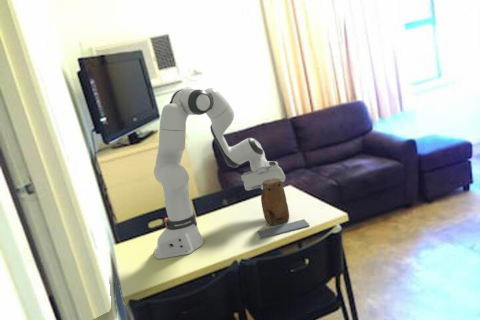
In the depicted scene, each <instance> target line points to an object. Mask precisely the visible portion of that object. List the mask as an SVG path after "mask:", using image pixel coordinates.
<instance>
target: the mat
mask: <svg viewBox="0 0 480 320" xmlns="http://www.w3.org/2000/svg"><path fill="white" fill-rule="evenodd" d="M308 227H310V224H309V223H308V222H307V221H306V220H305V219H304V218H303V219H300V220H296V221H292V222H287V223H284V224H280V225H276V226H272V227H268V228H265V229H260V230H257V235H258V236H259V238H260V239H261V240H263V239H266V238H269V237H274V236H277V235H281V234H285V233H289V232H294V231H297V230H300V229H305V228H308Z"/></svg>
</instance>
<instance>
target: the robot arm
mask: <svg viewBox="0 0 480 320" xmlns="http://www.w3.org/2000/svg"><path fill="white" fill-rule="evenodd" d="M170 99H171V100H170V102H169V103H168V104H166V105H164V106H163V107H162V109H161V115H160V119H159V133H158V149H157V153H156V154H157V155H156V160H155V166H154V169H153V174H154V177H155V180H156V181H157V182H158V183H159V184H161V185H162V186H161V187H162V189H163V192H164V193H163V196H164V206H165V210H166V214H167V217H165V218H164V219H163V221H164V225H165V229H164V230H163V231H162V232H161V233H160V235H159V236H158V238H157V241H156V242H157V246H156V247H155V248H154V251H153V255H154V258H155V259H156V260H162V259H168V258H174V257H179V256H185V255H189V254H192V253H193V252H194V251H195V250H197V249H199V248H200V247H202V246H203V245H204V243H205V240H204V238H203V237H202V235H201V233H200V229H199V228H198V222H197V218H196V215H195V212H194V210H193V207H192V203H191V199H190V198H191V197H190V187H189V185H190V184H189V180H190V177H189V176H190V175H189V173H188V171H187V169H186V168H185V167H184V166H183V165H182V164H181V161H182V158H183V153H184V152H185V149H186V133H187V131H186V130H187V127H186V126H187V125H186V124H187V119H188V117H189V116H200V115H201V116H202V115H204V114H206V115H207V117H208V118H209V120H210V123H211V125H210V133H211V135H212V137H213V140H214V141H215V143H216V145H217V146H218V148H219V150H220V152H221V155H222V156H223V159H224V161H225V163H226V165H227V166H228V167H230V168H238V167H239V166H241V165H242V164H244V163H246V162H249V166H250V170H251V171H248V172H244V173H242V174H241V175H240V177H241V181H242V182H243V186H244V190H245V191H251V190H255V189H256V190H257V189H261V190H263V181H266V180H269V179H273V178H278V179H279V180H280V181H282V183H284V182H285V181H286V175H285V173H284V171H283V169H282V168H281V167H280V166H279V162H278V161H269V160H267V158H266V154H265V151H264V149H263V146H262V144H261V142H260V141H259V140H258V139H256V138H253V137H248V138H245V139H244V140H241V141H240V142H239V143H237V144H235V145H231V146H229V144H228V142H227V140H226V138H225V136H224V134H225V133H226V131H227V130H228V128H229V127H230V126H231V124H233V121H234V118H235V117H234V116H235V111H234V110H233V108H232V106H231V105H230V103H229V102H228V100H227V99H226V98H225V97H224V96H223V94H221V93H220V92H219V91H218V90H217V89H215V88H213V87H209V88H205V89H204V90H202V89H194V88H186V89H179V90H176V91H175V92H174V93H173V94H172V96H171V98H170Z"/></svg>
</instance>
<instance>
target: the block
mask: <svg viewBox="0 0 480 320" xmlns="http://www.w3.org/2000/svg"><path fill="white" fill-rule="evenodd" d="M261 190H262V189H261ZM260 201H261V208H262V213H263V217H264V219H265V222H266V224H267V225H269V226H272V225H273V226H274V225H279V224H282V223H285V222H288V221H289V219H290V211H289V207H288V202H287V196H286V193H285V188H284V186H283V182H282V181H280V180H279V179H278V178H273V179H269V180H266V181H263V190H262V191H261V195H260Z"/></svg>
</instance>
